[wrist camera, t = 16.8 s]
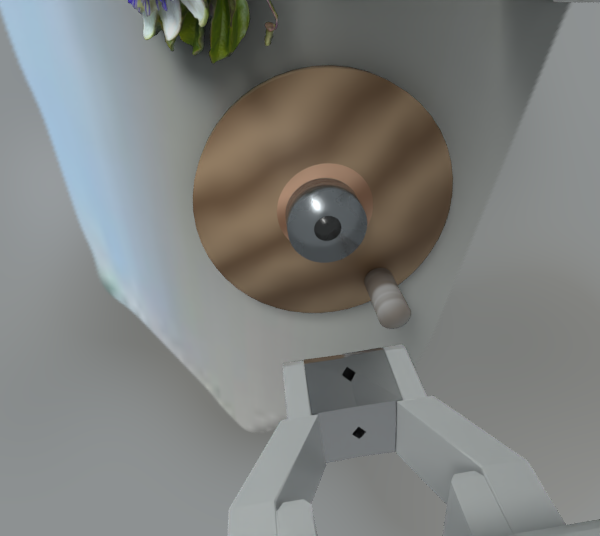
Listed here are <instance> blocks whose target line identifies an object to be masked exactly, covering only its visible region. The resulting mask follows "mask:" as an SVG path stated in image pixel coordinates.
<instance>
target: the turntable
mask: <svg viewBox="0 0 600 536" xmlns="http://www.w3.org/2000/svg"><path fill="white" fill-rule="evenodd" d="M318 178H332V179H336V180H339V181H342V182H344V183H345V184H347V185H348V186H349V187H350V188H351V189H352V190H353V191H354V192H355V194H356V196H357V198H358V199H359V201H360V203H361V205H362V207H363V209H364V211H365V213H366V217H367V230H366V234H365V237H364V239H363V241H362V243H361V244H360V246H359V247H358V248H357V249H356V250H355V251H354V252H353V253H351V254H350V255H349V256H347V257H345V258H343V259H341V260H338V261H334V262H328V263H320V262H314V261H311V260H308V259H306V258H304V257H302V256H301V255H300V254H298V253H297V252H296V251H295V249H294V248H293V247H292V245H291V243H290V240H289V237H288V232H287V225H286V219H285V212H286V206H287V203H288V201H289V199H290V197H291V195H292V194H293V193H294V192H295V191H296V190H297V189H298V188H299V187H300V186H301V185H303V184H305V183H306V182H309V181H311V180H314V179H318ZM452 187H453V175H452V166H451V160H450V156H449V152H448V148H447V145H446V143H445V140H444V138H443V136H442V133H441V131H440V129H439V128H438V126H437V124H436V123H435V121H434V120H433V118H432V116H431V115H430V114H429V113H428V112H427V111H426V109H425V108H424V107H423V106H422V105H421V104H420V103H419V102H418V101H417V100H416V99H415V98H413V97H412V96H411V95H410V94H409V93H407V92H406V91H405V90H403V89H401V88H400V87H398V86H396V85H395V84H393V83H391V82H390V81H388V80H386V79H384V78H382V77H380V76H377V75H375V74H372V73H370V72H368V71H364V70H360V69H356V68H352V67H344V66H334V65H326V66H311V67H305V68H300V69H295V70H291V71H289V72H286V73H283V74H280V75H277V76H274V77H273V78H271V79H269V80H267V81H265V82H263V83H261V84H259V85H257V86H256V87H254V88H253V89H252V90H250V91H249V92H247V93H246V94H245V95H243V96H242V97H241V98H240V99H239V100H238V101H237V102H235V103H234V104H233V105H232V106H231V107H230V108H229V109H228V110H227V112H226V113H225V114H224V115H223V117H222V118H221V119H220V120H219V122H218V123H217V124H216V126H215V128H214V129H213V131H212V133H211V135H210V136H209V138H208V140H207V142H206V145H205V147H204V150H203V152H202V155H201V157H200V160H199V164H198V168H197V172H196V175H195V180H194V189H193V212H194V218H195V223H196V228H197V231H198V234H199V237H200V240H201V243H202V245H203V247H204V249H205V251H206V253H207V255H208V257H209V258H210V259H211V261H212V262H213V264H214V265H215V267H216V268H217V269H218V270H219V271H220V273H221V274H222V275H223V276H224V277H225V278H226V279H227V280H228V281H229V282H230V283H232V284H233V285H234V286H235V287H236V288H238V289H239V290H241V291H242V292H244V293H245V294H247V295H248V296H250V297H252V298H254V299H256V300H258V301H260V302H262V303H264V304H267V305H270V306H273V307H276V308H280V309H284V310H288V311H295V312H303V313H323V312H333V311H339V310H344V309H348V308H352V307H355V306H358V305H362V304H364V303H366V302H369V301H371V302H372V304H373V307H374V309H375V312H376V314H377V317H378V319H379V322H380V324H381V325H382V326H383V327H385V328H389V329H394V328H399V327H401V326H403V325H404V324H406V323H407V322H408V320H409V319H410V316H411V311H410V308H409V306H408V304H407V302H406V301H405V299H404V297H403V295H402V293H401V291H400V289H399V287H398V285H399V284H400V283H401V282H403V281H404V280H405V279H406V278H407V277H408V276H410V275H411V274H412V273H413V272H414V271H415V270H416V269H417V268H418V267H419V266H420V264H421V263H422V262H423V261H424V260H425V258H426V257H427V256H428V254H429V253H430V252H431V250H432V249H433V247H434V245H435V244H436V242H437V240H438V239H439V236H440V234H441V232H442V230H443V228H444V225H445V223H446V219H447V216H448V213H449V210H450V204H451V198H452Z"/></svg>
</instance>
